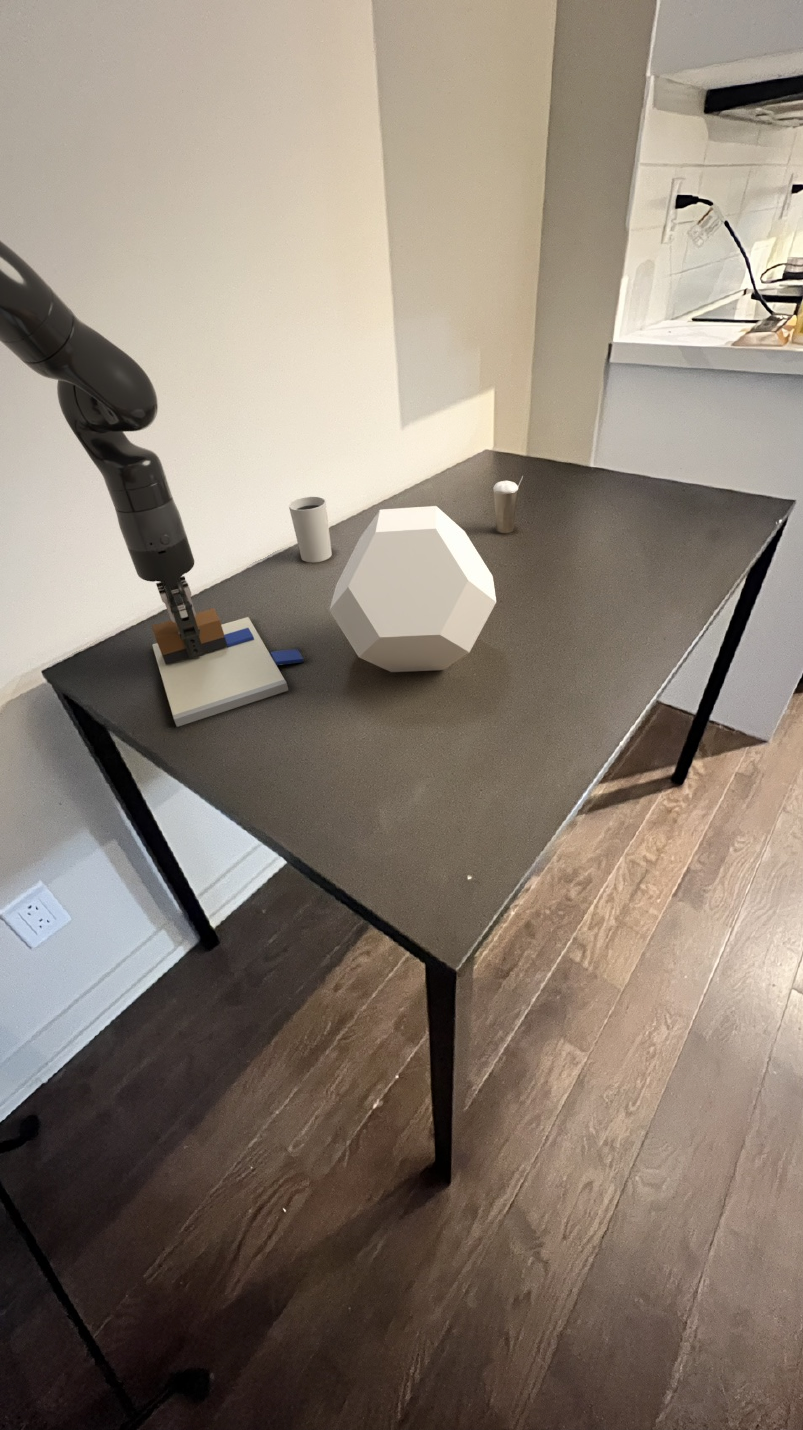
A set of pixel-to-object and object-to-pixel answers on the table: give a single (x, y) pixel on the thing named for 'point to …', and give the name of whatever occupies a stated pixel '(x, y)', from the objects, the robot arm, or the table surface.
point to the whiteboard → (220, 677)
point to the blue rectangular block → (286, 657)
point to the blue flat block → (238, 637)
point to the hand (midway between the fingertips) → (193, 647)
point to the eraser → (175, 646)
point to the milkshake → (505, 505)
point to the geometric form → (413, 591)
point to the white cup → (311, 528)
